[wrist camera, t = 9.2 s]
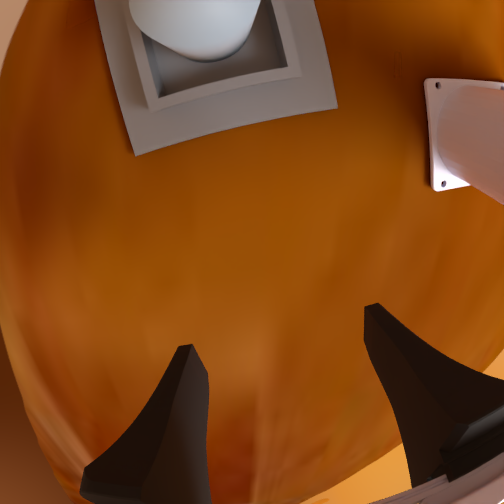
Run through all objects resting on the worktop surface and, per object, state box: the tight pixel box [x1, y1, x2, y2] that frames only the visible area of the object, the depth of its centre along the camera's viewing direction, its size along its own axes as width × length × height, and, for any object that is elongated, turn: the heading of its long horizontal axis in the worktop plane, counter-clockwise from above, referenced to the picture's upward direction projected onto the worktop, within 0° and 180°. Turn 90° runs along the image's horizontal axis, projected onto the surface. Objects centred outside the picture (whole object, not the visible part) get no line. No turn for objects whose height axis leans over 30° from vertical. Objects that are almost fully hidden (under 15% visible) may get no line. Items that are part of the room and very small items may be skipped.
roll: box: [129, 0, 261, 63], centre depth 10 cm, size 4×4×7 cm
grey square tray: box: [95, 0, 338, 156], centre depth 13 cm, size 12×12×3 cm
